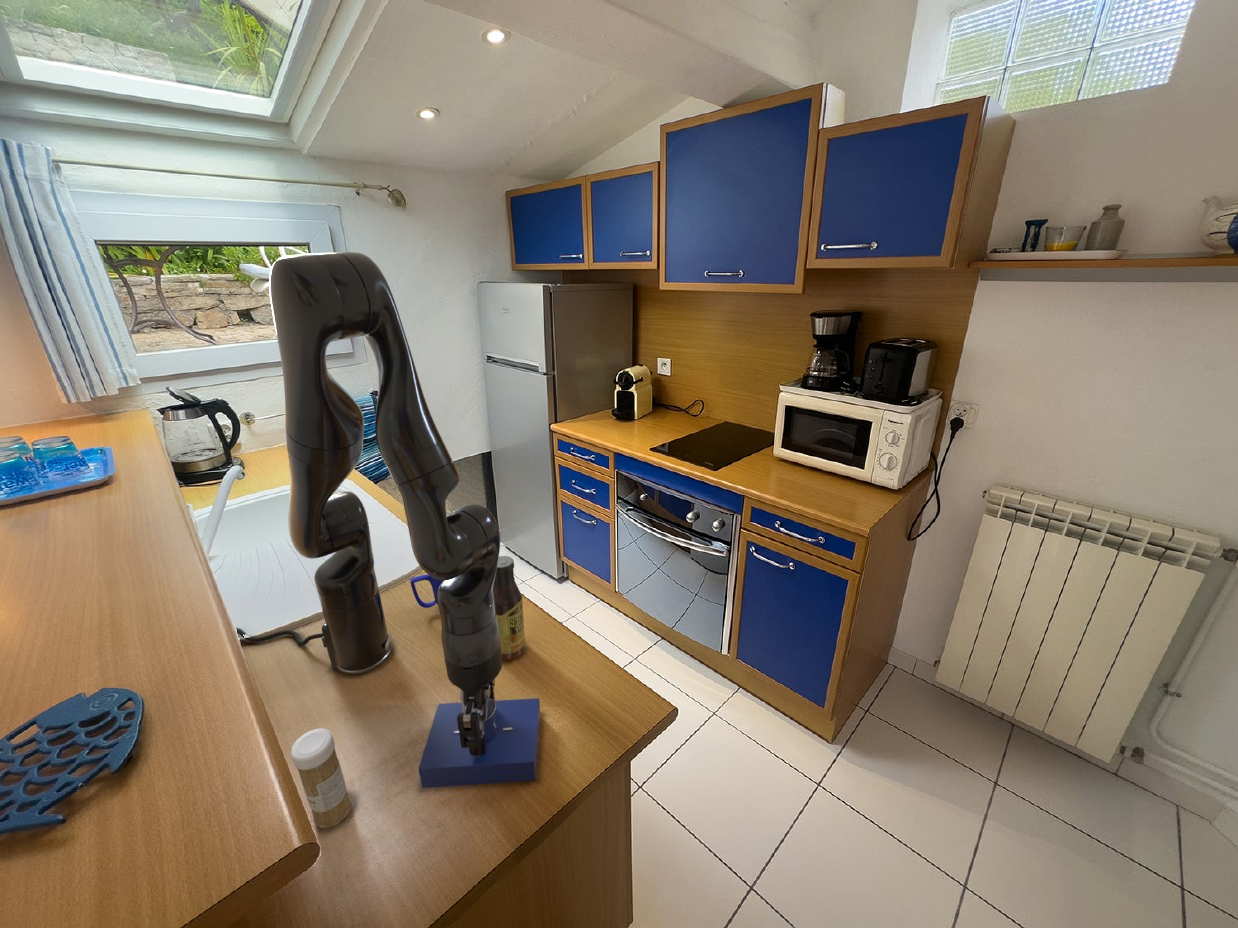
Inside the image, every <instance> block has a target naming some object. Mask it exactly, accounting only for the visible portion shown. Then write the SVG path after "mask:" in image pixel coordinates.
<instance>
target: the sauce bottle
mask: <svg viewBox="0 0 1238 928" xmlns="http://www.w3.org/2000/svg"><path fill="white" fill-rule="evenodd" d="M514 568H515V560H514V559H513V558H512V557H511V556H508V555H499V558H498V564H497V570H496V576H495V580H494V584H493V595H494V604H495V613H496V617H497V621H498V625H499V633H500V643H501V653H502V661H510V660H513V659H516V658H517V657H519V656H520V655H522V654H523V652H524V650H525V643H526V636H525V635H526V634H525V633H526V632H525V618H524V602H523V594H522V593H521V590H520V588H519V587H518V584H517V582H516V580H515V579H516V578H515V573H514Z"/></svg>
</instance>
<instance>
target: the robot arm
mask: <svg viewBox="0 0 1238 928" xmlns="http://www.w3.org/2000/svg"><path fill="white" fill-rule="evenodd" d="M268 286H269V298H270V305H271V310H272V317H273V324H274V328H275V334H276V339H277V344H278V350H279V355H280V362H281V369H282V377H283V389H284V391H283V393H284V406H285V407H284V408H285V410H284V411H285V412H284V413H285V435H286V436H285V439H286V449H287V458H288V466H289V495H288V507H287V529H288V535H289V538H290V542H291V544H292V546H293V548H294V549H295V551H296V553H298V554H299V555H300V556H301V557H303V558H305V559H309V560H314V559H320V558H323V557H326V556H329V555H331V556H330V557H328V558H327V559H326V560H324V561H323V562H322V563H321V564H320V565H319V566H318V567H317V569H316V570H315V572H314V575H313V581H314V585H315V589H316V592H317V596H318V599H319V603H320V607H321V610H322V615H323V618H324V623H323V624H322V626H321V632H320V633H315V634H314V633H313V634H311V635H308V636H307V637H306V638H305V639H302V637H301V636H300V635H299V633H298V632H296V631H294V630H291V629H285V630H284V629H283V630H279V631H276V632H273V633H269V634H267V635H264V636H257V637H256V636H251V638H244V636H243V634H244V635H245V634H247V633H246V632H245V631H244V630H243V629H241V628H238V627H235V628H236V629H237V634H238V635H239V636H240V637H242V638H243V639H245V640H246V641H249V642H254V643H259V642H264V641H268V640H271V639H274V638H277V637H280V636H285V635H286V636H288V635H289V636H292V637H293V638H294V639H295V641H296V642H297V644H298V645H300V646H305V645H307V644H308V643H309V642H310V641H313V640H316V639H320V638H321V641H322V644H323V648H326V650H327V655H328V658H329V661H330V662H329V663H330V665H331V669H332V670H338V671H339V672H341V674H344V675H349V676H350V675H362V674H366V673H369V672H371V671H373V670H375V669H377V668H378V667H381V666H382V664H384V663H385V662H386V661H387V660H388V659H389V657H390V656H391V653H392V650H393V649H392V643H391V640H392V632H389V630H388V626H387V621H386V617H385V612H384V607H383V603H382V598H381V593H380V588H379V583H378V579H377V574H376V569H375V556H374V552H373V546H372V537H371V530H370V525H369V524H370V523H369V518H368V514H367V511H366V508H365V506H364V504H363V502H362V500H361V499H360V497H358V495H356V493H354V492H352V491H347V490H345V491H340V492H336V491H337V490H338V489H339V488H340V487H341V486H342V484H343V483H344V482H345V481H346V480H347V479H348V477H349V476H350V475H351V474H352V472H353V471H354V469H355V468H356V467H357V465H358V463H359V461H360V459H361V456H362V454H363V447H364V434H365V433H364V432H365V418H364V414H363V411H362V409H361V407H360V405H359V404H358V402H357V401H356V400H355V399H354V398H353V397H352V395H351V394H350V393H349V392H348V391H347V390H346V389H345V388H344V386H342V385H341V384H340V383H339V382H338V381H337V380H336V379H335V378H334V377H333V376H332V374H331V373H330V372H329V370H328V366H327V348H328V346H329V344H331V343H332V342H338V341H343V340H348V339H354V338H359V337H365V339H366V341H367V343H368V345H369V347H370V349H371V351H372V353H373V356H374V359H375V364H376V369H377V376H378V377H377V380H378V381H377V383H378V384H377V387H378V389H377V399H376V400H377V401H376V409H375V419H374V420H375V421H374V431H375V432H374V433H375V439H376V444H377V448H378V451H379V454H380V455H381V458H382V460H383V462H384V464H385V466H386V468H387V470H388V472H389V474H390V476H391V478H392V480H393V482H394V484H395V486H396V488H397V490H398V491H399V493H400V496H401V498H402V503H403V504H402V505H403V508H404V514H405V518H406V523H407V529H408V533H409V539H410V540H409V541H410V545H411V549H412V554H413V556H414V557H415V560H416V562H417V564H418V565H419V567H420V568H421V569H422V570H423V571H424V572H425V573H426V575H430V576H431V577H433V578H436V579H438V580H444V581H443V582H442V584H441V585H440V587H439V590H438V595H437V597H438V605H437V606H439V607H438V613H439V618H440V624H441V635H440V637H441V644H442V649H443V656H444V662H445V668H446V674H447V679H448V680H449V682H450V683H451V684H452V685H453V686H455V687H457V688H458V689H460V693H459V694H460V695H459V699H460V701H461V703H462V713H458V716H457V723H458V729H459V735H460V741H461V747H462V748H467V747H469V751H470V754H471V755H472V756H477V755H484V754H485V753H486V742H485V731H484V721H485V720H486V719H487V717H488V698H491V699H492V700H493V701H494V702H495V701H496V699H495V690H494V689H495V686H496V678H497V677H498V675H500V672H501V670H502V669H503V660H502V653H501V643H500V633H499V625H498V621H497V617H496V613H495V604H494V595H493V584H494V580H495V576H496V570H497V564H498V558H499V557H500V552H501V551H500V550H501V534H500V533H501V531H500V528H499V524H498V522H497V520H496V518H495V516H494V515H493V513H492V512H490V510H489V509H487V508H486V507H485V506H483V505H480V504H477V503H468V504H465V505H461V506H460V507H458V508H456V509H454V510H453V511H451V512H449V513H448V514H447V507H446V506H447V505H446V501H447V499H448V497H449V496H450V494H452V492H454V491H455V489H456V488H457V487H458V485H459V484H460V480H461V479H460V475H459V472H458V469H457V467H456V465H455V463H454V462H453V459H452V456H451V455H450V453H449V450H448V447H446V444H445V442H444V439H443V437H442V436H441V433H440V432H439V429H438V427H437V425H436V423H435V421H434V418H433V416H432V413H431V411H430V409H429V406H428V403H427V401H426V398H425V395H424V392H423V388H422V385H421V381H420V378H419V376H418V371H417V369H416V368H417V367H416V365H415V361H414V357H413V355H412V351H411V348H410V345H409V342H408V339H407V334H406V332H405V329H404V325H403V323H402V319H401V316H400V312H399V310H398V306H397V303H396V301H395V298H394V295H393V292H392V290H391V288H390V286H389V284H388V281H387V279H386V277H385V276H384V274H383V272H382V270H381V268H380V267H379V266H378V264H377V263H375V261H374V260H373V259H372V258H371V257H369V256H368V255H366V254H364V253H362V252H361V253H360V252H356V251H336V252H318V253H317V252H316V253H306V254H304V253H302V254H290V255H285V256H281V257H279V258H277V259H276V260H275V261H274V262H273V264H272V266H271V268H270V273H269V284H268ZM335 492H336V493H335ZM482 707H483V713H478V712H474V709H480V708H482Z"/></svg>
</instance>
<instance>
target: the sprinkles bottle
mask: <svg viewBox="0 0 1238 928" xmlns="http://www.w3.org/2000/svg"><path fill="white" fill-rule="evenodd" d="M335 744H336V742H335V739H334V736H333V733H332V732H331V731H330V730H328V729H327V728H322V727H321V728H315V729H312V730H309V731H307V732H305V733H303V734H302V735H301V736H300V737H299V738H297V739H296V741H295V742H294V743H293V744H292V746H291V748H290V749H291V750H290V757H291V761H292V763H293V765H294V767H295V768H296V769H297V771H298V774H299V777H300V780H301V784H302V787H303V790H304V793H305V797H306V800H307V802H308V806H309V807H310V810H311V813H312V816H313V823H314V824H315V825H316V827H318V828H321V829H329V828H332V827H334V826H337V825H338V824H339V823H341V822H342V821H343V820H344V819H345V818H346V817H347V816H348V814H349V813H350V810H351V807H352V800H351V797H350V796H349V794H348V790H347V784H346V780H345V777H344V774H343V770H342V767H341V764H340V760H339V759H338V755H337V752H336V747H335V746H336V745H335Z"/></svg>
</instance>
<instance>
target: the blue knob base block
mask: <svg viewBox="0 0 1238 928" xmlns="http://www.w3.org/2000/svg"><path fill="white" fill-rule="evenodd" d="M495 704H496V712H497V720H498V732H497V734H496V735H495V737H494V738H493V739H492V740H490V741H488V742H486V753H485V754H484V755H477V756H472V755H471V754H470V751H469V747H467V748H462V747H461V741H460V735H459V729H458V723H457V716H458V713H462V702H443V703H438V705H437V707H436V711H435V714H434V717H433V721H432V723H431V727H430V730H429V734H428V736H427V740H426V743H425V746H424V749H423V753H422V756H421V759H420V763H419V766H418V774H419V780H420V785H421V789H431V788H432V789H433V788H445V787H462V786H475V785H476V786H477V785H491V784H505V783H521V782H535V781H536V778H537V766H538V752H539V741H540V739H539V738H540V728H541V727H540V726H541V703H540V698H539V697H537V698H535V697H534V698H522V699H521V698H519V699H518V698H517V699H501V700H500V699H499V700H495Z"/></svg>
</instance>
